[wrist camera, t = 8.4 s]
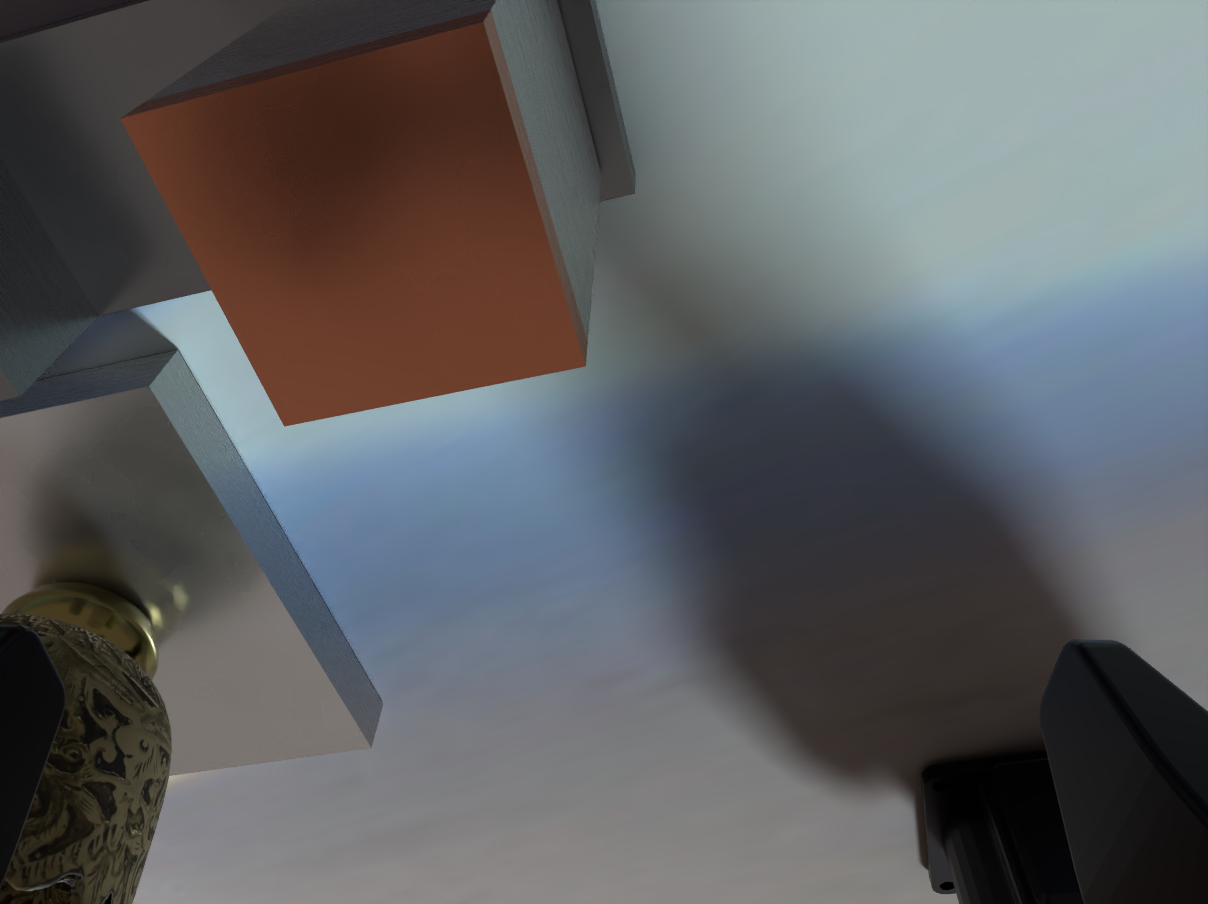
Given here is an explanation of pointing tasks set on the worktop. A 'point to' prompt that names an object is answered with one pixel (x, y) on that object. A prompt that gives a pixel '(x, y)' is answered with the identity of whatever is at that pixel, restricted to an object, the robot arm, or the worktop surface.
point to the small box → (386, 197)
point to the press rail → (119, 176)
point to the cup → (93, 751)
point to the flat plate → (179, 561)
